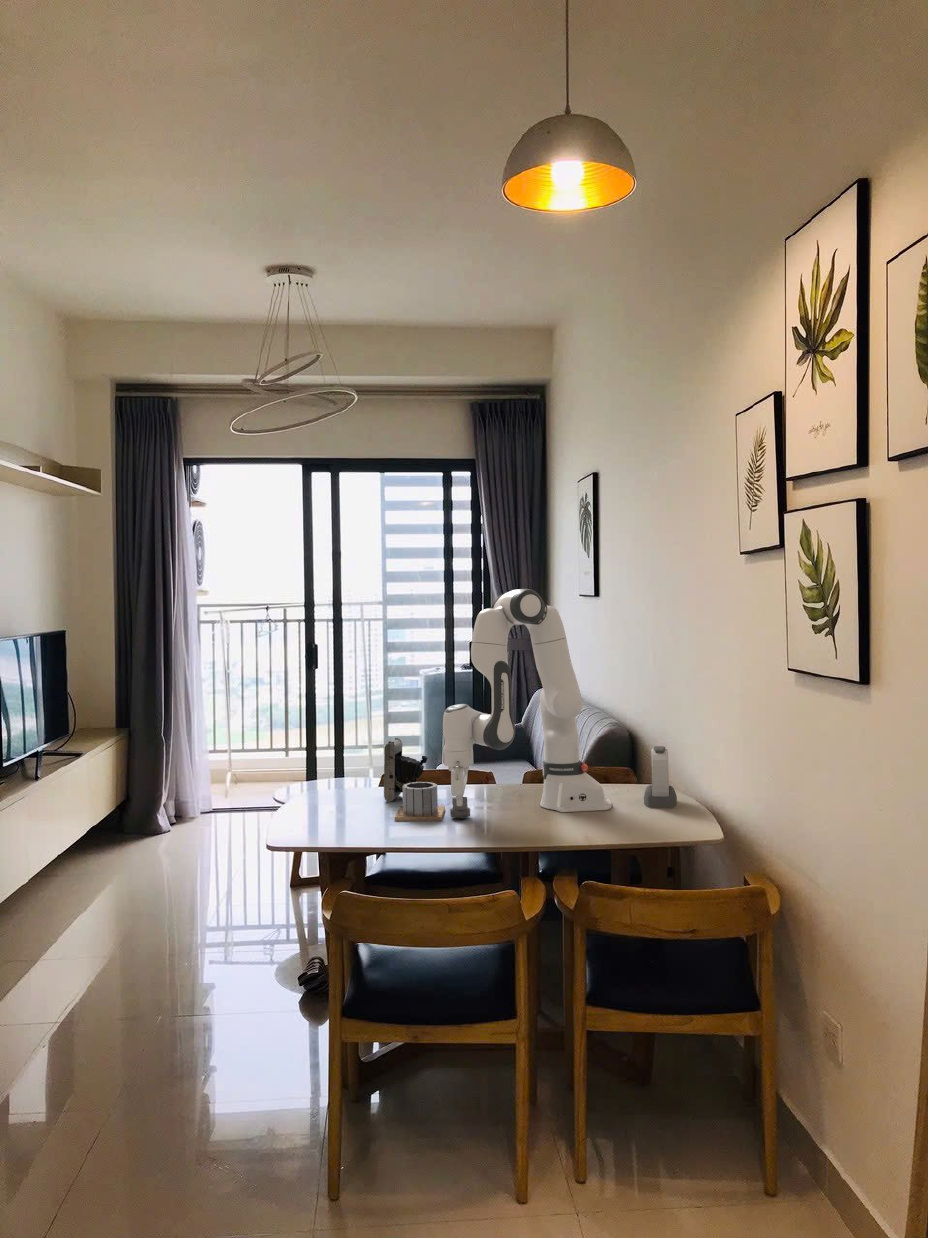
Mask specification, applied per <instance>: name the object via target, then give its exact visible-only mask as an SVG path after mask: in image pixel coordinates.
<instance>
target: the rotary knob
mask: <svg viewBox="0 0 928 1238" xmlns="http://www.w3.org/2000/svg"><path fill="white" fill-rule="evenodd" d="M451 800H452V801H451V802H452V808H450V810H449V811H450V812H449V813H450V815H449V816H450V817H451V818H453V819H466V818H470V817H471V808H470V807H468V796H463V805H462V806H457V802H456V796H452V799H451Z"/></svg>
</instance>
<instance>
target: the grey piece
mask: <svg viewBox="0 0 928 1238" xmlns="http://www.w3.org/2000/svg"><path fill="white" fill-rule="evenodd" d="M668 750H669V749H666V747H665V746H663V745H655V746H653V748H651V784H649V785H648V786H647V787H645V790H644V795H643V804H644V806H645V807H646V808H647V809H648V808H649V809H674V808H676V807H677V805H678V800H677V799H678V797H677V793H676V790H675V788H674V787H673V785H669V782H670V779H669V777H670V776H669V775H670V774H669V751H668Z"/></svg>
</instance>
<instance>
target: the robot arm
mask: <svg viewBox="0 0 928 1238" xmlns="http://www.w3.org/2000/svg"><path fill="white" fill-rule="evenodd" d="M522 625H524V626H525V627H526V628H527V630H528V632H529V635H530V642H531V647H532V652H533V657H534V662H535V666H536V670H537V672H538V673H537V674H538V676H539V679H540V681H541V686H542V689H541V691H540V695H539V700H540V703H539V704H540V713H541V723H542V731H543V751H544V752H543V753H544V755H543V756H544V757H543V758H544V759H543V761H542V776H543V786H542V787H543V789H542V794H541V800H540V803H539V806H540V807H542V808H544V809H548V810H554V811H557V812H561V813H569V812H571V813H572V812H591V811H607V810H611V808H612V804H613V803H612V801H611V800H610V799H609V798H607V797H605V792H604V788H603V786H602V784H601V783H600V782H598V781H597V780H596V779H595V778H594V777H592V776H591V775H589V774H588V773H587V771H588V770H589V767H588V765H587V763H585V762H584V761H582V760H580V736H579V731H578V726H577V720H576V719H577V718H576V717H577V716H579V714H581V712H582V710H583V707H584V703H583V697H582V694H581V691H580V686H579V683H578V678H577V676H576V673H575V670H574V667H573V664H572V660H571V656H570V655H571V654H570V650H569V645H568V640H567V635H566V631H565V627H564V624H563V621H562V618H561V616H560V612H559V610H558V609H557V608H556V607H554V606H552V605H547V604H546V603H545V601H544V600H543V598H542V597H541V595H540V594H539V593H538V592H537V591H535V590H533V589H529V588H519V589H512V590H510V591H506V592H503V593H502V594H500V595H499V596H498V597H496V599H495V601H494V602H493V604H492V606H491V607H489V608H485V609H483V610H481V611H480V612H479V613H478V614H477V616H476V619H475V622H474V626H473V632H472V636H471V637H472V639H471V647H470V659H471V663H472V664H473V666H474V668H475V669H476V670H477V671H478V672H480V673H481V675H483V676H484V677H485V678H486V679H487V680H488V682H489V684H490V688H491V713H489V714H488V713H486V712H481V711H478V710H475V709H474V708H472V707H470V706H469V704H467V703H459V704H454V705H450V706H448V707H447V708H446V709H445V710H444V712H443V717H442V719H443V720H442V736H443V739H444V745H443V765H444V766H445V767H448V768H447V769H448V771H449V772H451V773H450V787H451V789H450V790H451V791H450V792H451V796H452V797H456V802H457V806H462V805H463V797H464V794H465V790H466V787H467V782H468V775H469V774H468V773H469V770H470V767H471V766H473V765H474V750H473V749H474V745H475V744H476V745H480V746H485V747H489V748H491V749H493V750H496V751H502V750H505V749H507V748H509V746H510V745H511V744H512V743H513V741H514V738H515V735H516V726H515V722H514V717H513V692H512V691H513V688H512V687H513V683H512V672H511V671H512V670H511V668H510V666H509V661H508V640H509V634H510V631H511V629H512V627H513V626H522Z"/></svg>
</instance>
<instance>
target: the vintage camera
mask: <svg viewBox="0 0 928 1238" xmlns="http://www.w3.org/2000/svg"><path fill="white" fill-rule="evenodd" d="M383 758H384V759H383V761H384V763H383V765H384V766H383V769H384V770H383V798H384V800H385V801H386V802H387V803H390V802H393V801H394V800H395V799H397V798H398V797H399V796H400V795H401V794H402V793H403V787H402V786H403V785H404V784H407V783H413V782H417V779H420V778H421V776H422V774H423V773H424V768H425V766H424V764H426V763H427V761H428V759H429V757H427V755H422V756H421V759H420V760H417V758H412V757H410V756H405V755H403V742H402V740H401V739H400V738H398V737H395V738H394V739H393V740H389V741H388V742H387V743H386V744H385V746H384V757H383Z"/></svg>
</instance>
